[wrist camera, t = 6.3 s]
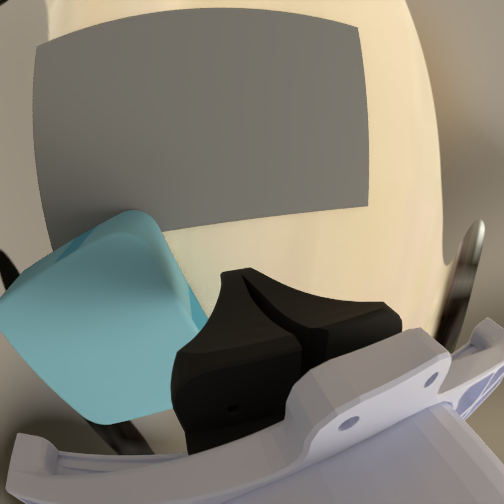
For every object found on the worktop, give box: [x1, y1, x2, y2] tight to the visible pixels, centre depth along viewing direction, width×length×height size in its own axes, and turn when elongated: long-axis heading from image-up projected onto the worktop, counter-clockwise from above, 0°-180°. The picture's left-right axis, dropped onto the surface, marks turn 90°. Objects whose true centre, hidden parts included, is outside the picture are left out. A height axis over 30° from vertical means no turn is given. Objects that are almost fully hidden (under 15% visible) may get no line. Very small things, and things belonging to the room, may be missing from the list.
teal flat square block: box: [0, 210, 208, 425], centre depth 15 cm, size 12×4×12 cm
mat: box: [33, 8, 369, 251], centre depth 14 cm, size 14×22×1 cm, turn 93°
